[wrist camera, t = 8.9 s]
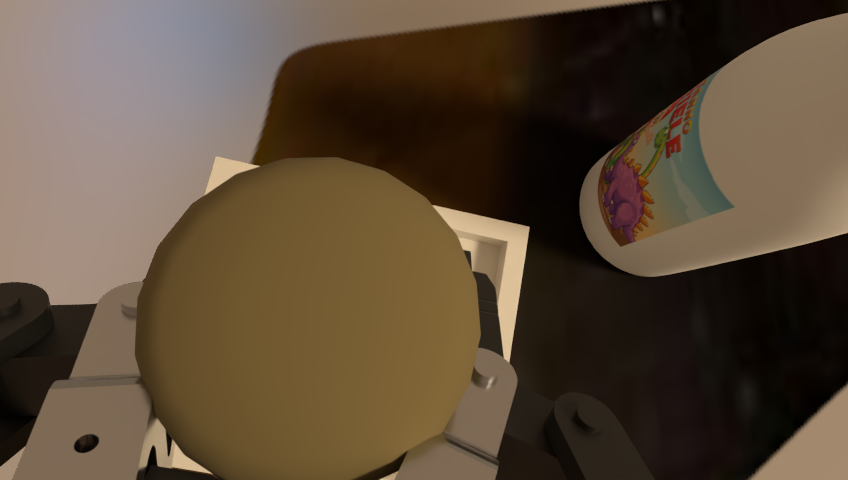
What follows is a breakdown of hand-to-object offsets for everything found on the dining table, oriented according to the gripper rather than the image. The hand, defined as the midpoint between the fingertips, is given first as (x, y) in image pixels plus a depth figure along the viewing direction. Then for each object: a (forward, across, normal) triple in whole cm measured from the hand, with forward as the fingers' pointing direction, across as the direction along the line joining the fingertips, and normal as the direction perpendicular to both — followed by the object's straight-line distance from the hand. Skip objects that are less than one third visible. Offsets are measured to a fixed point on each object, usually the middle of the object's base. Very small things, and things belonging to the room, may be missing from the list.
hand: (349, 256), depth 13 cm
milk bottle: (+16, -15, +4) cm, 22 cm away
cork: (+2, 0, +5) cm, 5 cm away
